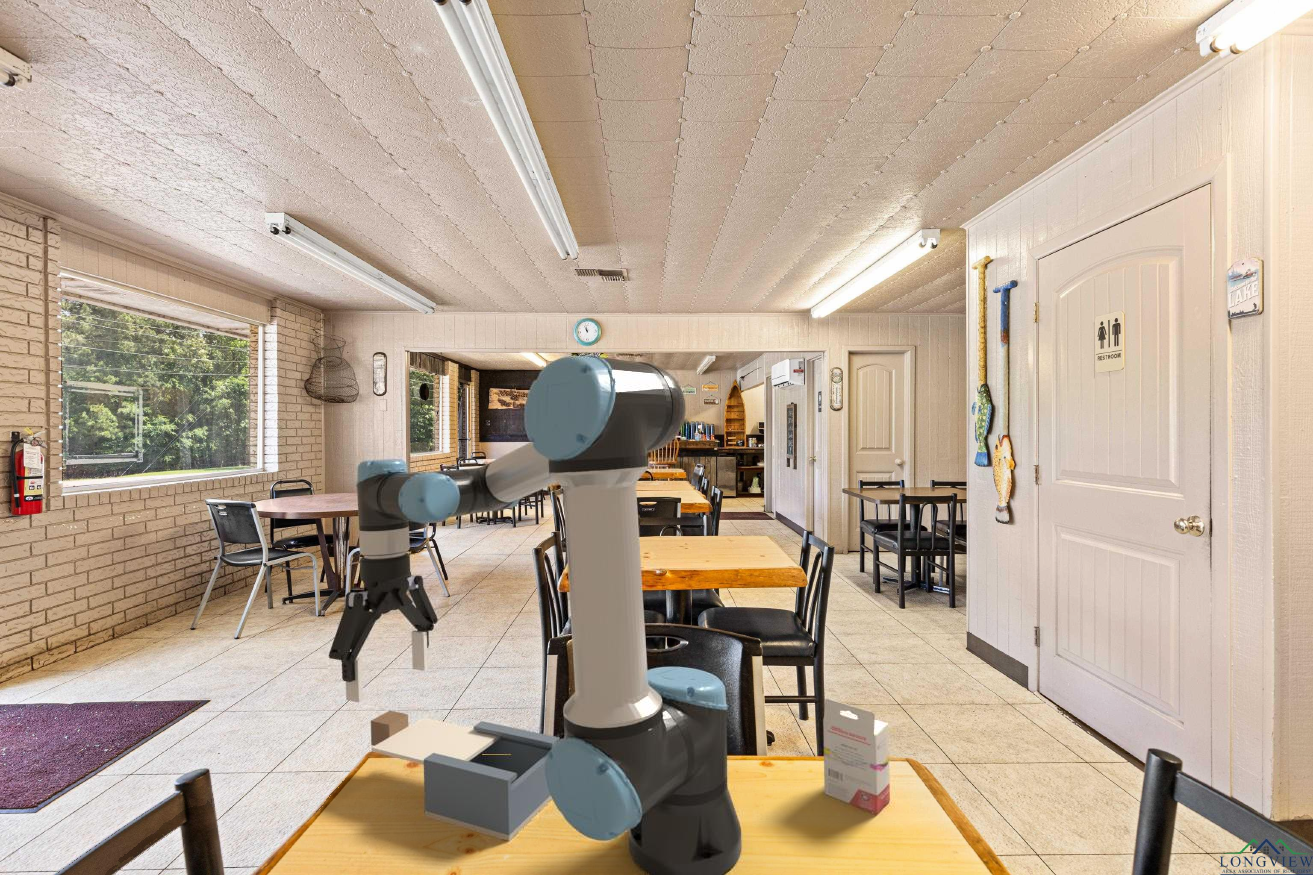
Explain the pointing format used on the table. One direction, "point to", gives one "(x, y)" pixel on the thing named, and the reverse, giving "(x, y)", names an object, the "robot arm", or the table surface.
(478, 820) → the grey open box
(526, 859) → the table surface
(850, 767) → the ink cartridge box
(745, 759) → the table surface
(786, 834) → the table surface
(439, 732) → the lid
